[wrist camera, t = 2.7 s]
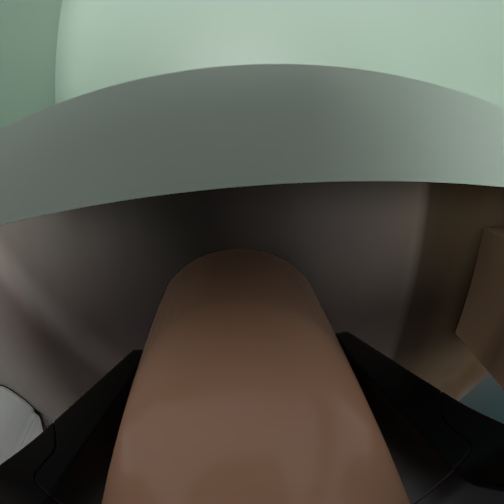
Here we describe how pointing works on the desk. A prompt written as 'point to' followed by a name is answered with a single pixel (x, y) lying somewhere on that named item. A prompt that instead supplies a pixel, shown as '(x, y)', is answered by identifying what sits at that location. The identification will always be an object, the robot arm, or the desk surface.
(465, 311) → the walnut block
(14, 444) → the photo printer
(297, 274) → the terracotta cylinder
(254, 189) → the desk surface
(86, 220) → the desk surface
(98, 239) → the desk surface
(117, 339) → the desk surface
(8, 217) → the tote
